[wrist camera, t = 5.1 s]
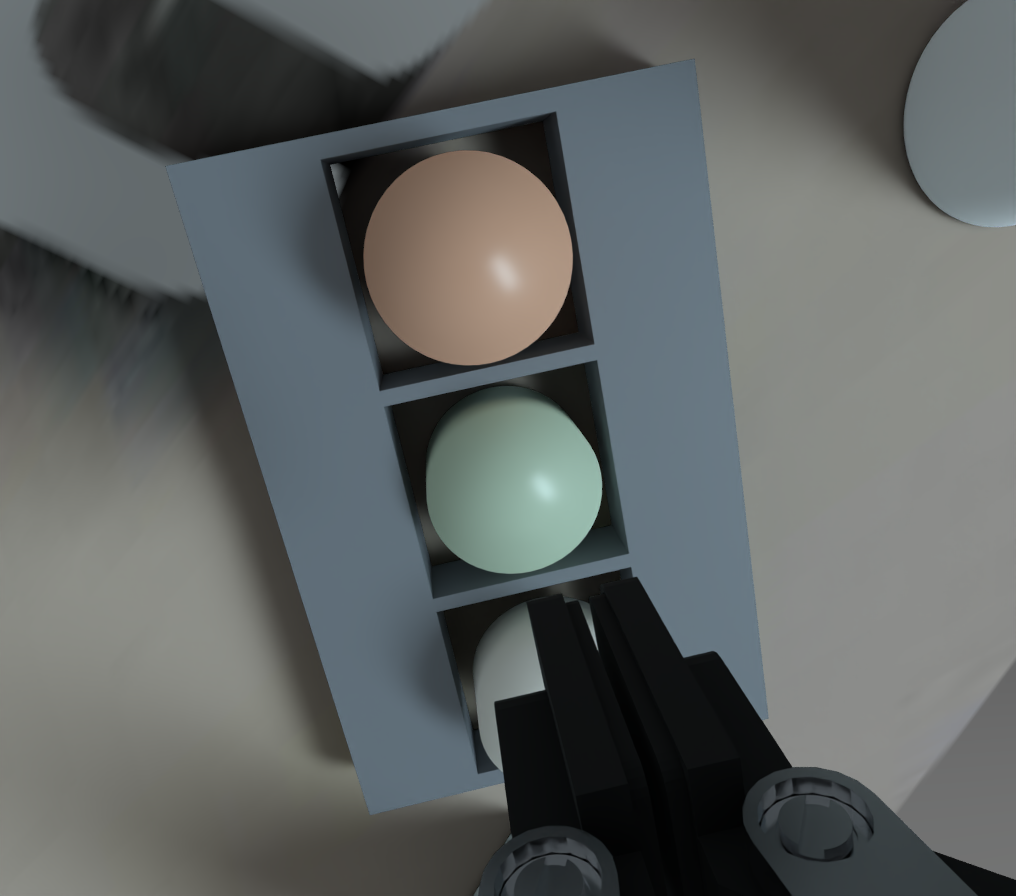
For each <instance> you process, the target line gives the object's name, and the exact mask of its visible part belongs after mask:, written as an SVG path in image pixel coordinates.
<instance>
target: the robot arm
mask: <svg viewBox="0 0 1016 896" xmlns="http://www.w3.org/2000/svg"><path fill="white" fill-rule="evenodd" d="M600 589H601V595H597V596H593V597H589V604H590V609H591V615H592V620H593V626H594V631H595V636H596V642H597V647H598V650H597V647H596V644H595V642H594V639H593V637H592V634H591V631H590V629H589V626H588V624H587V621H586V618H585V616H584V613H583V611H582V608H581V605H580V603H579V601H578V600H575V601H571V602H566V603H565V601H564V598H563V595H562V594H557V595H553V596H548V597H544V598H540V599H535V600H531V601H526V603H527V608H528V613H529V618H530V622H531V627H532V632H533V636H534V641H535V646H536V650H537V655H538V660H539V664H540V669H541V674H542V678H543V683H544V688H545V690H542V691H538V692H533V693H529V694H525V695H520V696H516V697H512V698H507V699H503V700H499V701H494V708H495V716H496V724H497V731H498V738H499V746H500V753H501V761H502V768H503V775H504V783H505V790H506V798H507V805H508V812H509V820H510V827H511V835H512V839H511V840H509V841H508V842H507V843H506V844H505V845H503V846H502V847H501V848H500V849H499V850H498V851H497V852H496V853H494V855H493V857H492V858H491V860H490V861H489V863H488V864H487V866H486V867H485V869H484V871H483V875H482V879H481V882H480V886H479V892H478V896H1016V880H1014V879H1011V878H1008V877H1006V876H1003V875H999V874H997V873H994V872H991V871H988V870H986V869H983V868H980V867H977V866H974V865H971V864H969V863H966V862H963V861H959V860H957V859H954V858H952V857H949V856H946V855H943V854H940V853H937V852H934V851H932V850H931V849H930V848H929V847H928V846H927V845H926V844H925V843H924V842H923V841H922V840H921V839H920V838H919V837H918V836H917V835H916V834H915V833H914V832H913V831H912V830H911V829H910V828H909V827H908V826H907V825H906V824H905V823H904V822H903V821H902V820H901V819H900V818H899V817H898V816H897V815H896V814H895V813H894V812H893V811H892V810H891V809H890V808H889V807H888V806H887V805H886V804H885V803H884V802H883V801H882V800H881V799H880V798H879V797H878V796H877V795H876V794H875V793H873V792H872V791H871V790H869V789H868V788H867V787H865V786H864V785H863V784H861V783H860V782H859V781H857V780H855V779H853V778H851V777H848V776H846V775H844V774H842V773H839V772H837V771H832V770H827V769H822V768H818V767H792V766H791V764H790V763H789V761H788V760H787V758H786V757H785V755H784V753H783V752H782V750H781V749H780V747H779V746H778V744H777V743H776V741H775V740H774V738H773V737H772V735H771V734H770V732H769V730H768V729H767V727H766V726H765V724H764V723H763V721H762V720H761V718H760V717H759V715H758V714H757V712H756V710H755V709H754V707H753V706H752V704H751V703H750V701H749V700H748V698H747V697H746V695H745V694H744V692H743V690H742V689H741V687H740V686H739V684H738V683H737V681H736V680H735V678H734V677H733V675H732V674H731V672H730V670H729V669H728V667H727V666H726V664H725V663H724V661H723V660H722V658H721V657H720V656H719V655H718V653H717V652H715V651H710V652H706V653H701V654H697V655H693V656H689V657H684V658H683V656H682V654H681V652H680V651H679V649H678V647H677V645H676V644H675V642H674V640H673V638H672V637H671V635H670V633H669V631H668V629H667V628H666V626H665V624H664V622H663V621H662V619H661V617H660V615H659V614H658V612H657V610H656V608H655V607H654V605H653V603H652V601H651V600H650V598H649V596H648V594H647V592H646V591H645V589H644V587H643V585H642V584H641V582H640V580H639V579H638V577H632V578H628V579H623V580H619V581H614V582H610V583H606V584H601V586H600Z"/></svg>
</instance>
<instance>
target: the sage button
mask: <svg viewBox="0 0 1016 896" xmlns="http://www.w3.org/2000/svg"><path fill="white" fill-rule="evenodd" d="M426 493H427V506H428V512H429V515H430V518H431V521H432V524H433V526H434V528H435V530H436V532H437V534H438V535H439V537H440V538H441V540H442V541H443V542H444V544H445V545H446V546H447V547H448V548H449V549H450V550H451V551H452V552H453V553H454V554H456V555H457V556H458V557H459V558H461V559H462V560H464V561H466V562H467V563H469V564H471V565H473V566H475V567H478V568H481V569H484V570H487V571H491V572H496V573H506V574H515V573H525V572H531V571H535V570H538V569H541V568H544V567H546V566H549V565H551V564H553V563H555V562H557V561H558V560H560V559H562V558H563V557H565V556H566V555H567V554H569V553H570V552H571V551H572V550H573V549H575V548H576V547H577V546H578V545H579V544H580V542H581V541H582V540H583V539H584V538H585V536H586V535H587V534H588V532H589V530H590V529H591V527H592V525H593V523H594V521H595V519H596V517H597V514H598V511H599V507H600V503H601V497H602V477H601V471H600V467H599V463H598V461H597V458H596V456H595V453H594V451H593V450H592V448H591V446H590V444H589V443H588V441H587V440H586V439H585V437H584V436H583V435H582V433H581V432H580V430H579V429H578V428H577V426H576V425H575V424H574V422H573V421H572V419H571V418H570V417H569V416H568V414H567V413H566V412H565V411H564V410H563V409H562V408H561V407H560V406H559V405H558V404H557V403H556V402H554V401H553V400H552V399H550V398H549V397H547V396H545V395H543V394H541V393H539V392H536V391H534V390H531V389H527V388H523V387H516V386H498V387H491V388H487V389H483V390H480V391H477V392H475V393H473V394H470V395H468V396H467V397H465V398H463V399H462V400H460V401H459V402H457V403H456V404H455V405H454V406H452V407H451V408H450V409H449V410H448V411H447V412H446V413H445V414H444V416H443V417H442V418H441V420H440V421H439V422H438V424H437V426H436V427H435V429H434V431H433V433H432V436H431V438H430V441H429V444H428V448H427V454H426Z"/></svg>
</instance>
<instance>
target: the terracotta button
mask: <svg viewBox="0 0 1016 896" xmlns="http://www.w3.org/2000/svg"><path fill="white" fill-rule="evenodd" d="M363 257H364V272H365V277H366V283H367V286H368V289H369V293H370V296H371V298H372V300H373V303H374V305H375V307H376V309H377V311H378V312H379V314H380V316H381V317H382V319H383V320H384V322H385V323H386V324H387V325H388V327H389V328H390V329H391V330H392V332H393V333H394V334H395V335H397V336H398V337H399V338H400V339H401V340H402V341H403V342H404V343H406V344H407V345H408V346H410V347H411V348H413V349H414V350H416V351H418V352H420V353H421V354H423V355H425V356H427V357H430V358H433V359H435V360H438V361H442V362H446V363H450V364H457V365H481V364H488V363H493V362H496V361H500V360H503V359H506V358H508V357H510V356H512V355H515V354H517V353H518V352H520V351H522V350H523V349H525V348H527V347H528V346H529V345H531V344H532V343H533V342H534V341H536V340H537V339H538V338H539V337H540V336H541V335H542V334H543V333H544V332H545V331H546V330H547V329H548V327H549V326H550V325H551V323H552V322H553V321H554V319H555V318H556V316H557V314H558V313H559V311H560V309H561V307H562V305H563V303H564V300H565V298H566V295H567V292H568V289H569V285H570V281H571V274H572V265H573V252H572V242H571V237H570V233H569V228H568V225H567V222H566V220H565V217H564V214H563V212H562V210H561V208H560V207H559V205H558V203H557V201H556V200H555V198H554V197H553V195H552V194H551V192H550V191H549V190H548V188H547V187H546V186H545V185H544V184H543V183H542V182H541V181H540V180H539V179H538V178H537V177H536V176H534V175H533V174H532V173H531V172H530V171H528V170H527V169H525V168H524V167H522V166H521V165H519V164H517V163H516V162H514V161H511V160H509V159H507V158H505V157H502V156H499V155H496V154H492V153H488V152H481V151H466V150H461V151H453V152H446V153H443V154H439V155H436V156H432V157H430V158H428V159H425V160H423V161H421V162H419V163H417V164H416V165H414V166H413V167H411V168H409V169H408V170H406V171H405V172H404V173H403V174H402V175H400V176H399V177H398V178H397V179H396V180H395V181H394V182H393V183H392V184H391V185H390V186H389V188H388V189H387V190H386V191H385V193H384V194H383V196H382V197H381V199H380V200H379V202H378V203H377V205H376V207H375V209H374V211H373V213H372V216H371V219H370V222H369V224H368V227H367V232H366V237H365V242H364V255H363Z"/></svg>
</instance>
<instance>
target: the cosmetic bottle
mask: <svg viewBox="0 0 1016 896" xmlns="http://www.w3.org/2000/svg"><path fill="white" fill-rule="evenodd" d="M904 141H905V147H906V153H907V157H908V160H909V163H910V167H911V169H912V171H913V174H914V176H915V178H916V180H917V182H918V184H919V185H920V187H921V189H922V190H923V191H924V193H925V194H926V195H927V196H928V198H929V199H930V200H931V201H932V202H933V203H934V204H935V205H936V206H937V207H938V208H940V209H941V210H942V211H944V212H945V213H947V214H948V215H950V216H952V217H954V218H956V219H958V220H960V221H963V222H966V223H969V224H972V225H977V226H983V227H1004V226H1012V225H1016V0H968V1H966V2H965V3H964V4H963V5H961V6H960V7H959V8H958V9H957V10H955V11H954V12H953V13H952V14H951V15H950V16H949V17H948V18H947V20H946V21H945V22H944V23H943V24H942V25H941V26H940V28H939V29H938V30H937V31H936V33H935V34H934V35H933V37H932V38H931V40H930V41H929V43H928V44H927V46H926V48H925V49H924V51H923V53H922V55H921V57H920V59H919V61H918V63H917V65H916V68H915V70H914V73H913V76H912V78H911V81H910V85H909V89H908V93H907V97H906V103H905V110H904Z"/></svg>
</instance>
